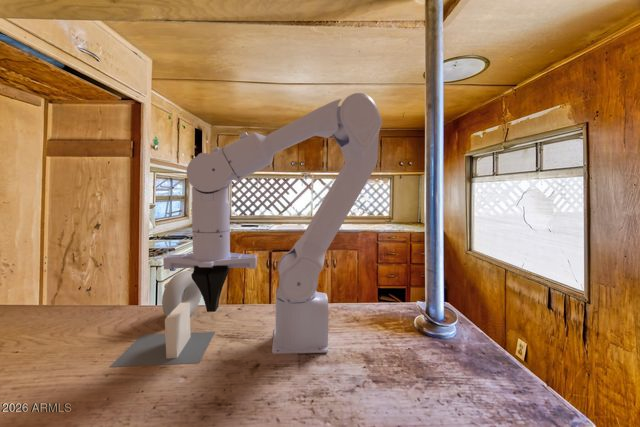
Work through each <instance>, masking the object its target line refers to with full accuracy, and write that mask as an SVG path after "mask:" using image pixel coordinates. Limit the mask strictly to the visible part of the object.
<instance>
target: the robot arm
mask: <svg viewBox="0 0 640 427" xmlns="http://www.w3.org/2000/svg"><path fill="white" fill-rule="evenodd" d="M341 101H342V98H339V99H335V100H333V101H330V102H329V103H326V104H325V105H322V106H320V107H318V108H316V109H313V110H311V112H310V111H309V112H308V113H306V114H305V115H303V116H301V117H299V118H297V119H295V120H293V121H292V122H290V123H288V124H286V125H284V126H282V127H280V128H278V129H276V130H274V131H273V132H271V133H269V134H267V135H264V134H261V133H258V132H252V133H250V134H248V133H247V132H246V131H245V132H241V133H240V134H239V135H238V136H239V139H237V140H235V141H233V142H231V143H229V144H226V145H225V146H223V147H221V148H220V147H218V146H216V147H213V148H212V149H211V150H212V152H213V153H211V152H200V153H198V154H197V156H195V157H194V158H192V159H191V160H190V161H189V163H188V164H187V168H186V178H187V181H188V183H189V184H190V185H191V195H192V196H191V198H192V199H191V200H192V201H191V223H192V224H191V228H192V233H191V235H192V253H180V254H168V255H166V256H164V257H163V270H172V269H193V270H192V272H193V273H192V274H191V276H192V279H193V281H194V282H195V283H196V285H197V287H198V288H199V290H200V292H201V294H202V295H201V298H202V299H203V301H204V305H205V309H206V310H205V311H206V313H215V312H216V311H217V310H218V309H219V306H220V298H221V294H222V290H223V288H224V284H225V281H226V279H227V276H228V274H229V272H230V271H231V268H233V269H237V268H239V269H240V268H241V269H243V268H245V269H246V268H249V270H256V269H257V266H258V254H248V253H247V254H246V253H237V252H231V230H230V228H231V226H230V225H231V224H230V222H231V221H230V220H231V218H230V215H231V214H230V213H231V211H230V208H231V207H230V200H229V186H230V185H231V183H232V181H235V182H238V181H241V180H242V179H244V178H247V177H249V176H251V175H252V174H255V173H257V172H259V171H261V170H263V169H265V168H266V167H269V166H271V165H272V163H273V160H274V156H275V154H277V153H279V152H282V151H283V150H285V149H288V148H291V147H293V146H295V145H296V144H300V143H302V142H304V141H306V140H308V139H310V138H313V137H316V136H317V137H321V138H326V139H329V138H331V137H332V138H333V139H334V140H335V142H336V143H337V145H338V146H339V147H340V150H341V154H342V156H343V159H344V164H343V165H342V168H341V169H340V171H339V173H337V174H338V175H337V176H336V178H335V180H334V181H333V183H332V184H331V185H330V188H329V189H328V191H327V193H326V194H325V197H324V198H323V200H322V202H321V203H320V204H319V207H318V208H317V209H316V212H315V213H314V215H313V217H312V219H311V220H310V222H309V224H308V225H307V227H306V229H305V231H304V233H303V234H302V235H301V236H300V238H299V239H298V240H297V241H296V242H295V243H294V245H293V247H292V248H291V249H290V250H289V251H287V252H286V253H285V254H283V255H282V256H281V257H280V259H279V261H278V264H277V273H278V288H277V289H276V290H275V326H274V329H273V339H272V346H271V347H272V348H271V354H273V355H279V354H281V355H283V354H284V355H285V354H300V355H301V354H317V353H318V354H319V353H321V354H322V353H328V352H329V346H328V345H329V314H330V313H329V298H328V294H327V293H326V292H320V291H317V289H318V285H319V276H320V273H321V271H322V270H323V267H324V264H325V257H326V252H327V251H328V249H329V247H330V245H331V244H332V242H333V241H334V240H335V239H334V238H335V237H336V235H337V234H338V233H339V232H338V231H339V230H340V228H341V227H342V225H343V223H344V221H345V220H346V218H347V216H348V215H349V213H350V211H351V210H352V208H353V206H354V204H355V203H356V201H357V199H358V197H359V196H360V194H361V193H362V191H363V190H364V187H365V186H366V184H367V182H368V180H369V179H370V177H371V175H372V174H373V173H374V170H375V169H376V166H377V164H378V158H379V157H378V156H379V155H378V154H379V136H380V135H379V134H380V130H381V127H382V125H383V120H382V119H383V118H382V116H381V114H380V110H379V109H378V106H377V103H376V102H375V100H374V99H373V98H372V97H371V96H369V95H367V93H362V92H356V93H352V94H350V95H348V96H347V97H345V99H344V100H343V101H342V102H341ZM340 102H341V105H339V104H340Z"/></svg>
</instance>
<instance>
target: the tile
mask: <svg viewBox="0 0 640 427" xmlns="http://www.w3.org/2000/svg"><path fill="white" fill-rule="evenodd" d="M164 332H165V333H164V334H165V338H166V358H177V357H178V356H179V354H180V352H181V351H182V349H183V348H184V346H185V345H186V343H187V342H188V340H189V339H190V337H191V333H192V332H191V315H190V303H180V304H179V305H178V306H177V307H176V308H175V309H174V310H173V311H172V312H171V313H170V314H169V315H168V316H167V317H166V318H165V319H164Z"/></svg>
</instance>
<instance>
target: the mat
mask: <svg viewBox="0 0 640 427" xmlns="http://www.w3.org/2000/svg"><path fill="white" fill-rule="evenodd" d="M215 333H216V331H202V332H201V331H199V332H195V331H194V332H191V337H190V339H189V340H188V342H187V343H186V345H185V346H184V348H183V349H182V351H181V352H180V354H179V356H178V357H177V358H166V338H165V333H143V334H140V335H139V337H138V338H137V339H135V340H134V341H133V342H132V343H131V344H130V346H128V348H126V349H125V350H124V351H123V353H122V354H120V356H118V358H116V360H115V361H114V362H113V363H112V364H111V365H110V366H109V368H120V367H121V368H122V367H144V366H145V367H146V366H168V365H189V364H190V365H191V364H192V365H193V364H200V363H201V360H202V359H203V356H204V355H205V354H206V351H207V349H208V347H209V346H210V343H211V341H212V339H213V337H214V335H215Z"/></svg>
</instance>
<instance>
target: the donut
mask: <svg viewBox="0 0 640 427" xmlns="http://www.w3.org/2000/svg"><path fill="white" fill-rule="evenodd" d="M192 273H193V271H190V270H185V271H180V272H179V273H176V274H175V275H174V276H173V277H172V278H171V279H170V280H169V281H168V283H167V284H166V285H165V288H164V289H163V293H162V299H161V307H162V312H163V313H164V315H165V317H166V318H167V316H168V315H169V314H170V313H171V312H172V311H173V310H174V309H175V308H176V307H177V306H178V305H179V304H180V303H190V316H191V315H192V314H193V313H195V311H196V309H197V308H198V306H199V304H200V302H201V298H202V294H201V292H200V290H199V288H198V287H197V285H196V283H195V282H194V281H193V279H192V276H191V274H192ZM183 293H184V296H183ZM182 296H183V298H182Z"/></svg>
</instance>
